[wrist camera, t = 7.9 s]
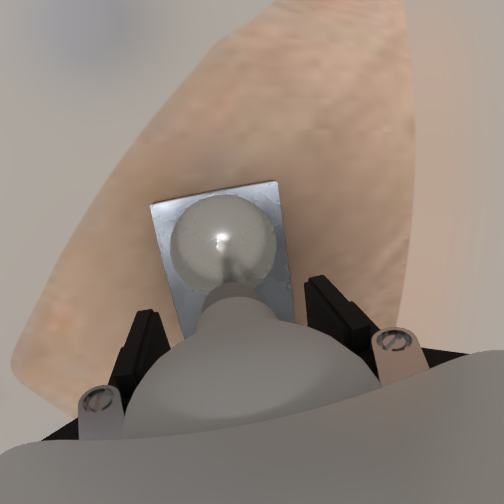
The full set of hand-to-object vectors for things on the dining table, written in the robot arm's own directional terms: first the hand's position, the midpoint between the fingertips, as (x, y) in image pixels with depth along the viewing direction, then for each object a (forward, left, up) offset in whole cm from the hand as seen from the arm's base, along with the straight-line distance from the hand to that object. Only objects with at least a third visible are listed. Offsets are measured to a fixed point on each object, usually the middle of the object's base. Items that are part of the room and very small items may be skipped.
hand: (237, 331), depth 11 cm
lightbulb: (0, 0, -3) cm, 3 cm away
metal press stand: (-4, +2, -13) cm, 14 cm away
